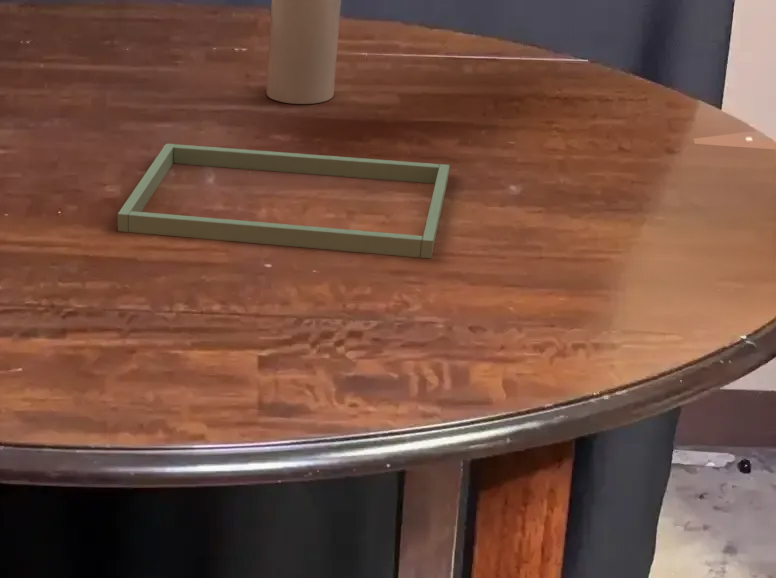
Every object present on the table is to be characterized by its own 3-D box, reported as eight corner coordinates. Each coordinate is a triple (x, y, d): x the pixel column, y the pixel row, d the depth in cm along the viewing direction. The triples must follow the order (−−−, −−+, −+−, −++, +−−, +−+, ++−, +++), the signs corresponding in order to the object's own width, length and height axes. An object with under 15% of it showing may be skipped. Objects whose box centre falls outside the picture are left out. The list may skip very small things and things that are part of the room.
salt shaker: (338, 86, 109) (350, -76, 103) (329, 106, 105) (342, -61, 99) (272, 82, 110) (280, -79, 104) (261, 101, 106) (269, -65, 100)
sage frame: (445, 199, 90) (449, 164, 89) (428, 278, 81) (433, 240, 80) (165, 176, 94) (165, 143, 93) (117, 249, 84) (117, 213, 83)
